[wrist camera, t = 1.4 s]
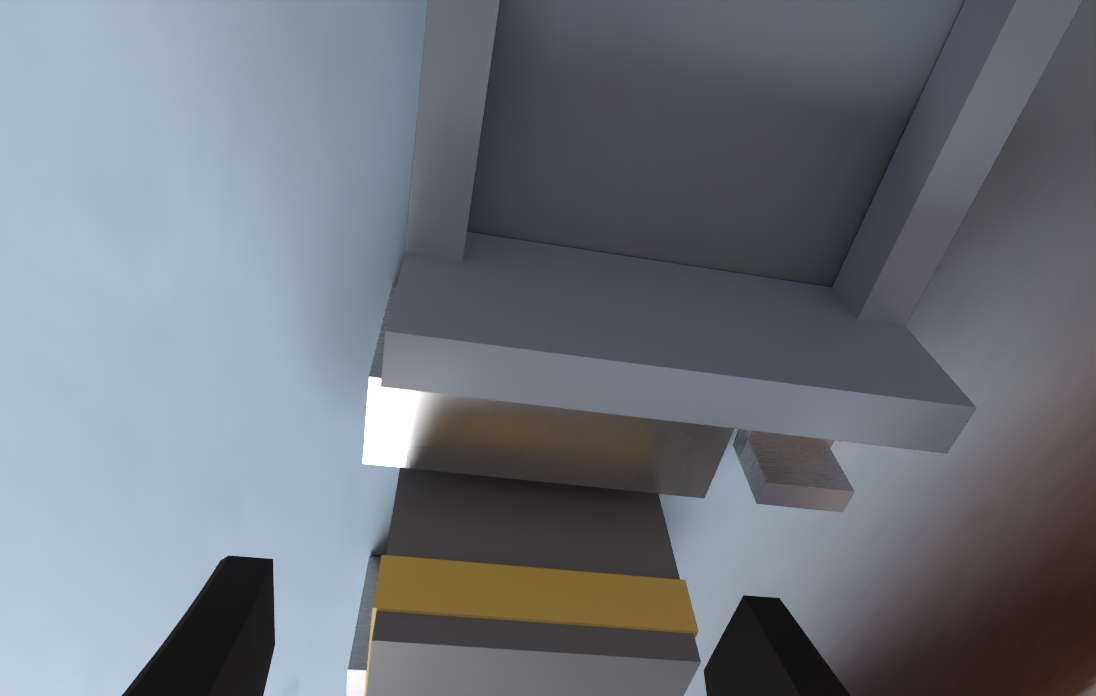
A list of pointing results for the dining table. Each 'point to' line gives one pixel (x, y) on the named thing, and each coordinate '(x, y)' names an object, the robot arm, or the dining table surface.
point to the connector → (527, 592)
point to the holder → (706, 269)
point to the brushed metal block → (523, 454)
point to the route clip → (792, 471)
